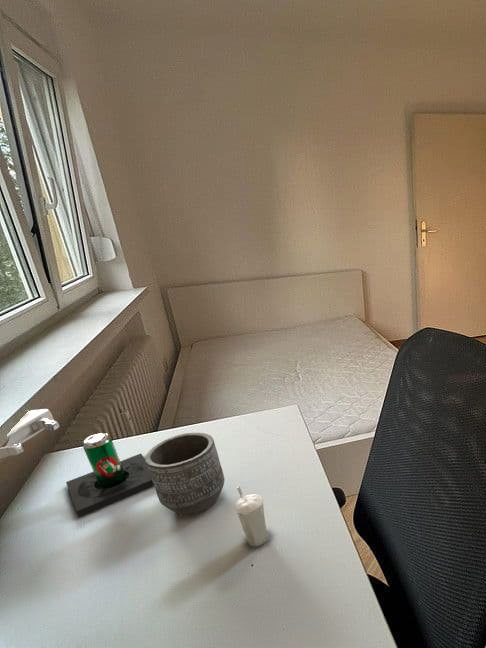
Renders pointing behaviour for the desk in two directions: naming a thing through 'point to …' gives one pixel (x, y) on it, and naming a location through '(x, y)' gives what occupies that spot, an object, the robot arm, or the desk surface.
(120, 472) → the soda can
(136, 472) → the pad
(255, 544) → the milkshake
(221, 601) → the desk surface
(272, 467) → the desk surface
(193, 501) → the planter
